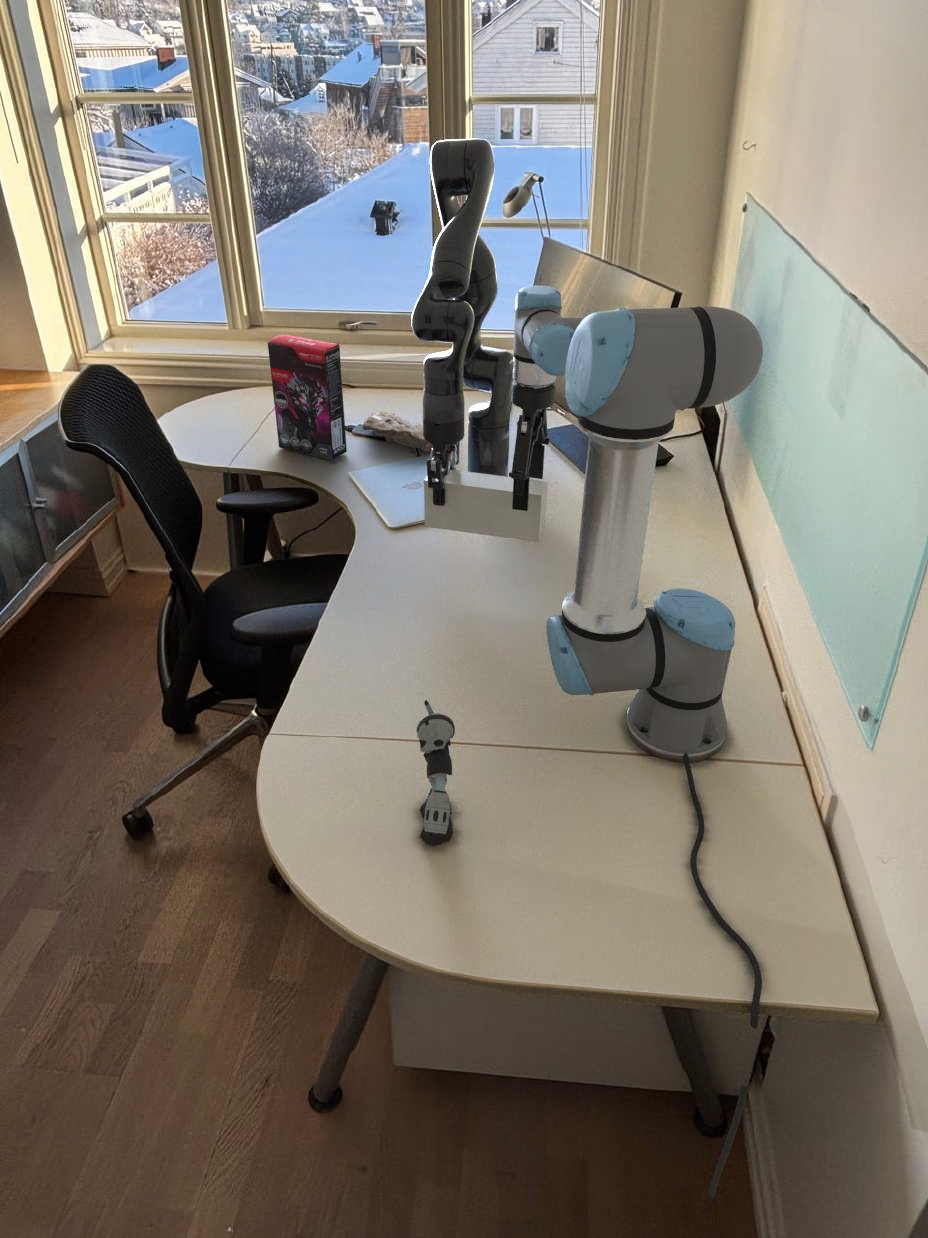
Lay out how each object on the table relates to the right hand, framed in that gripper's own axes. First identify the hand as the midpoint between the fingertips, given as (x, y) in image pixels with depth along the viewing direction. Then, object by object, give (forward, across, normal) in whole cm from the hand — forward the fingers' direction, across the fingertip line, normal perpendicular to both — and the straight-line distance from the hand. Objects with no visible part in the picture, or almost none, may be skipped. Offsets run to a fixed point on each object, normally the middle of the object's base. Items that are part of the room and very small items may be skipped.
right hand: (527, 492), depth 170 cm
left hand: (+3, 0, -16) cm, 16 cm away
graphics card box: (+19, -45, -64) cm, 80 cm away
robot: (+18, +67, +2) cm, 69 cm away
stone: (+19, -57, -45) cm, 75 cm away
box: (+8, 0, -8) cm, 12 cm away
